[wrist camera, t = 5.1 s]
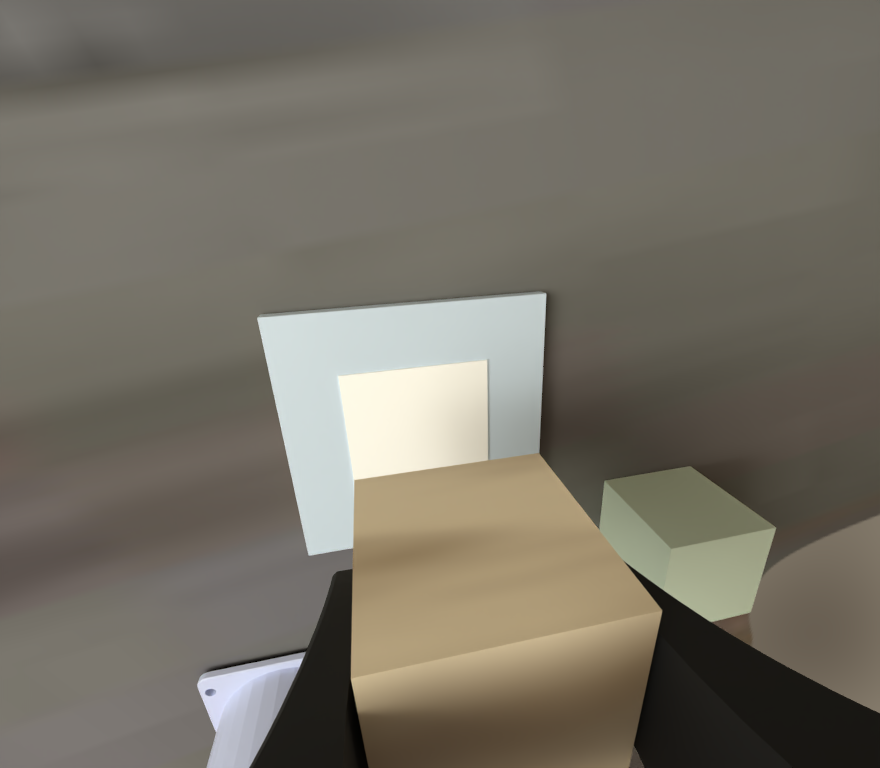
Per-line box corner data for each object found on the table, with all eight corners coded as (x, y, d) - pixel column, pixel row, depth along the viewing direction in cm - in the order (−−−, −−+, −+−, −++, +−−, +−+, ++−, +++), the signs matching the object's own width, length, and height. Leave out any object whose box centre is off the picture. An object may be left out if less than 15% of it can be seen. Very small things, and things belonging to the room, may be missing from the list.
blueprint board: (531, 508, 21) (537, 517, 20) (310, 546, 19) (308, 557, 19) (540, 291, 17) (547, 293, 16) (260, 314, 15) (256, 318, 15)
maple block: (532, 587, 13) (625, 782, 9) (375, 618, 12) (385, 851, 8) (538, 452, 11) (662, 610, 7) (354, 479, 10) (351, 678, 6)
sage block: (674, 538, 24) (750, 612, 19) (595, 554, 23) (654, 635, 19) (689, 465, 22) (776, 527, 17) (603, 479, 21) (671, 548, 17)
